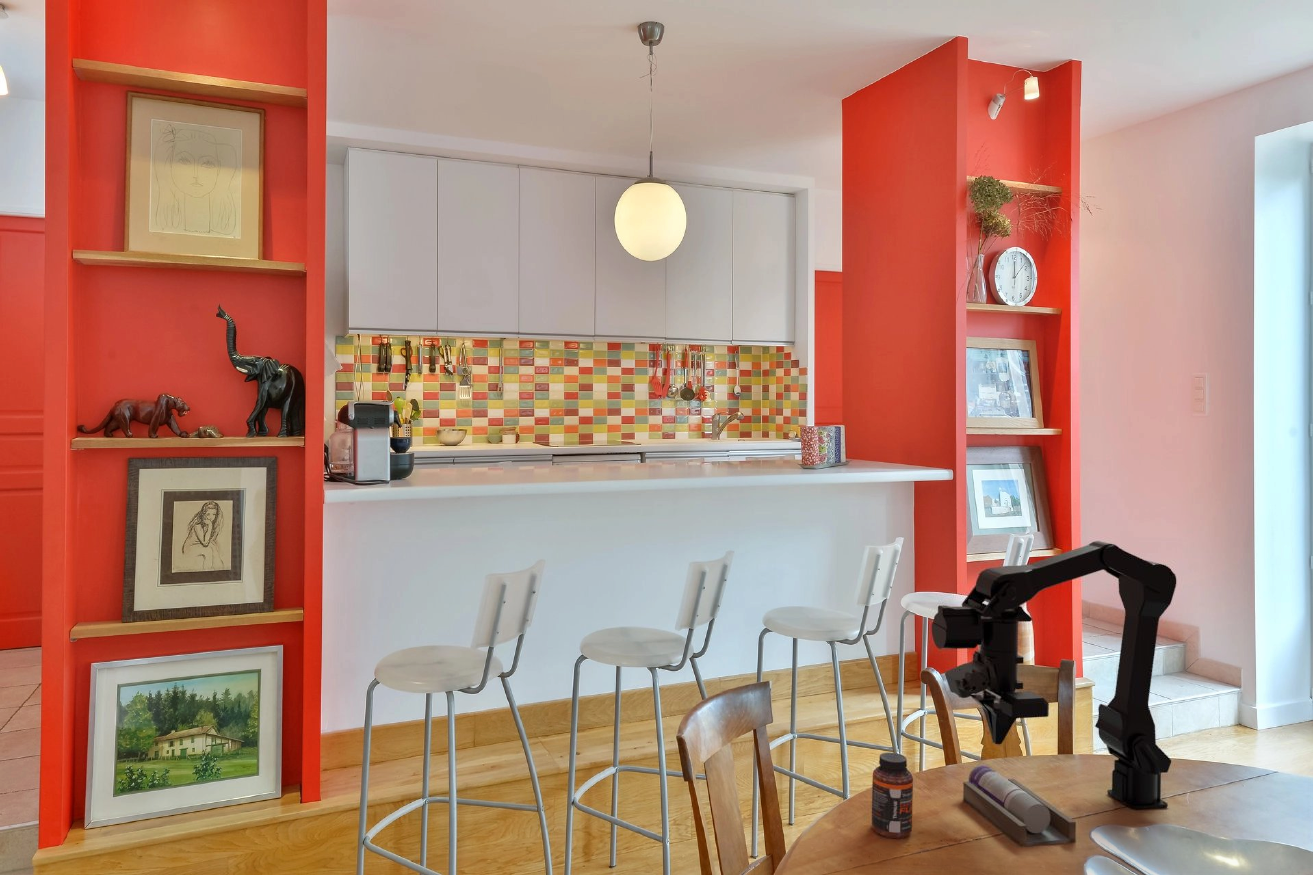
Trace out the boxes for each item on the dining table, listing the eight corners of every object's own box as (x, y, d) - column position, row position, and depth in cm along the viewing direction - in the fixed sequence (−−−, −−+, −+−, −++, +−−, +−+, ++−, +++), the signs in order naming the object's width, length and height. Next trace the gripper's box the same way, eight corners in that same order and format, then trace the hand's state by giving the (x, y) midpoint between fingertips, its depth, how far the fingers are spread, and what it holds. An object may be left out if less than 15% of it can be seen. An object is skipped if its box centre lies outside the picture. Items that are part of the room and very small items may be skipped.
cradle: (1013, 796, 144) (1013, 778, 144) (1075, 841, 128) (1075, 821, 128) (963, 799, 143) (963, 781, 143) (1020, 846, 127) (1020, 826, 127)
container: (992, 792, 145) (1050, 834, 130) (967, 792, 144) (1022, 834, 129) (994, 764, 145) (1052, 803, 130) (969, 764, 144) (1024, 803, 129)
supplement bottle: (905, 844, 127) (906, 767, 127) (866, 833, 130) (867, 758, 130) (916, 828, 132) (917, 754, 132) (878, 818, 136) (879, 746, 135)
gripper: (925, 635, 148) (923, 726, 149) (984, 665, 130) (982, 768, 130) (985, 633, 150) (983, 723, 151) (1051, 662, 132) (1050, 764, 132)
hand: (997, 743), depth 141 cm, fingers closed
